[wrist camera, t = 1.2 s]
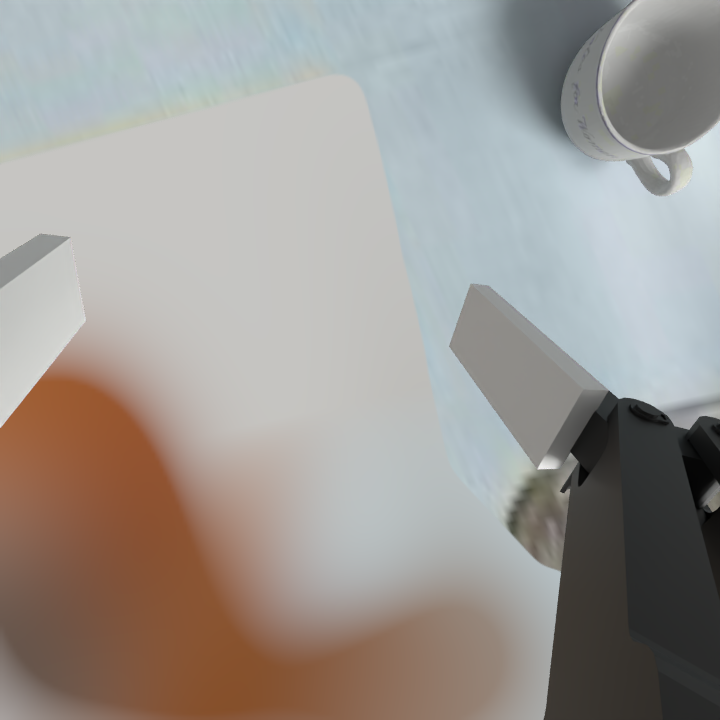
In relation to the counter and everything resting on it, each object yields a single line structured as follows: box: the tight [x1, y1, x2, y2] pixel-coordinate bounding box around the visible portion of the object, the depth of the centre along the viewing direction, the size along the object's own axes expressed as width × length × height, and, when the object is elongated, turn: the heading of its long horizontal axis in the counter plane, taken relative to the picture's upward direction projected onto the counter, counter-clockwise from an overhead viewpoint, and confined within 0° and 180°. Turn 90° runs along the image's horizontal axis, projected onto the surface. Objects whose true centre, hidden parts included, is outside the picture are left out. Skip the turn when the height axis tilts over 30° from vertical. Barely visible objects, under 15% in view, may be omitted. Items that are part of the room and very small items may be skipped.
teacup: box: [561, 0, 720, 196], centre depth 32 cm, size 14×11×8 cm
